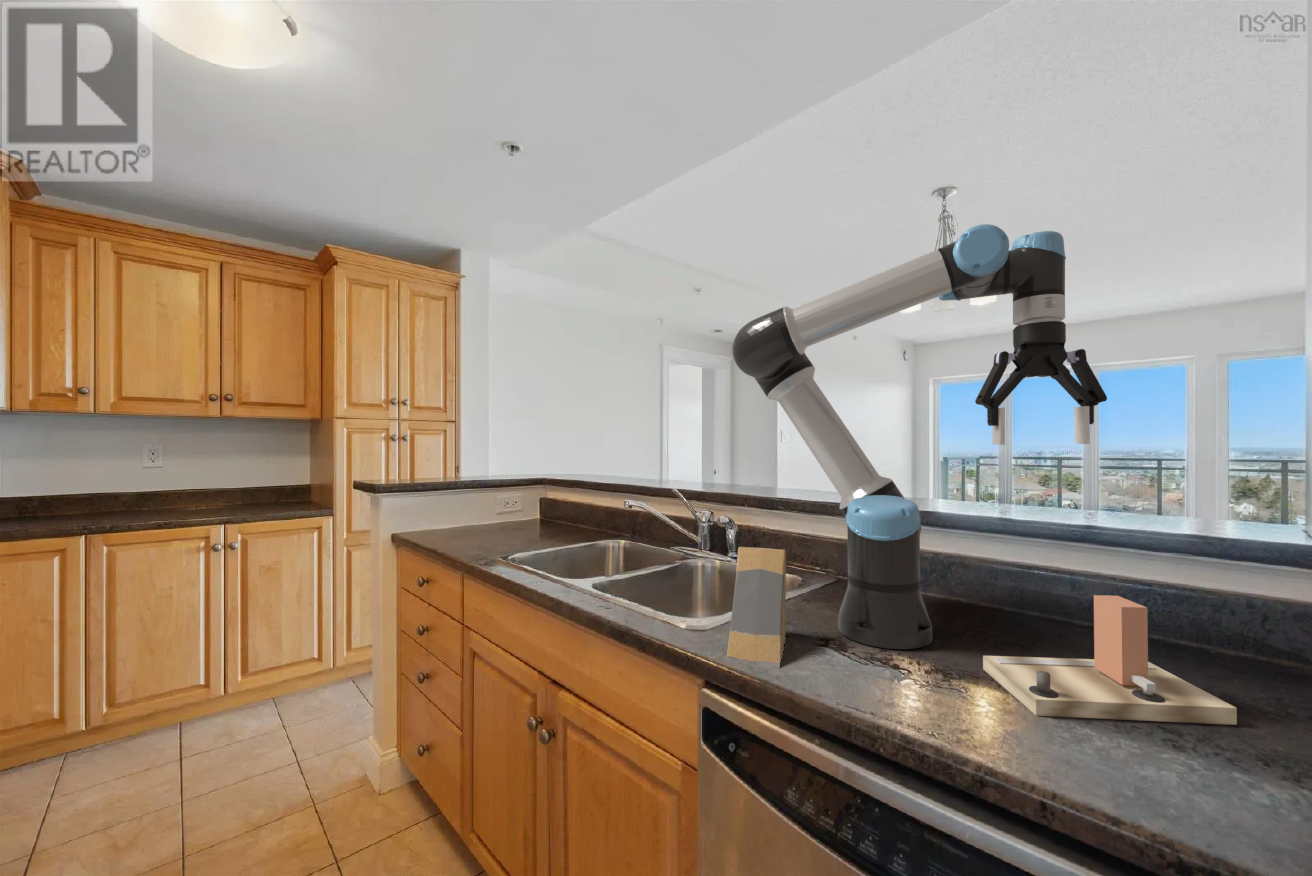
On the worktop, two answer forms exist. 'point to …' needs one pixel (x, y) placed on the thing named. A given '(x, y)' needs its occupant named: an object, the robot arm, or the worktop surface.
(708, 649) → the worktop surface
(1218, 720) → the board
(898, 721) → the worktop surface
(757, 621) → the sandwich container
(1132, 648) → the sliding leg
